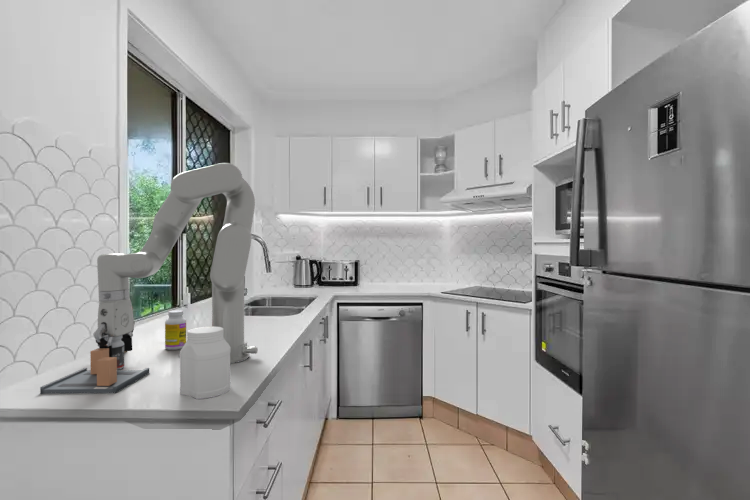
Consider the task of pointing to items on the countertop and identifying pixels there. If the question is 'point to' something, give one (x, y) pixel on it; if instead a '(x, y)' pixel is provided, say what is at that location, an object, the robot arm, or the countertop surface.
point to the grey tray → (92, 382)
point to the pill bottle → (118, 350)
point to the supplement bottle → (175, 330)
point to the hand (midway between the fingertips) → (116, 355)
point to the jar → (205, 363)
